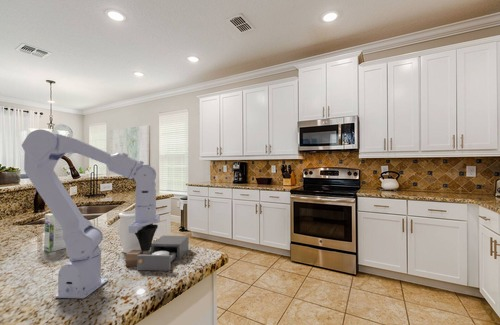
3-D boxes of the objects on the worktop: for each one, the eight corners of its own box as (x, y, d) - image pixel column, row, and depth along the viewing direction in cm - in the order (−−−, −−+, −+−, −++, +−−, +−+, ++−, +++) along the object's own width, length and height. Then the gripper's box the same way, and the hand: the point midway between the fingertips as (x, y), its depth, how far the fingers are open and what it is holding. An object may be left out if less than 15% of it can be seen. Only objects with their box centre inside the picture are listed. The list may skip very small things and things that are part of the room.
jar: (135, 255, 87) (135, 215, 88) (112, 253, 89) (112, 214, 90) (152, 246, 98) (153, 210, 98) (131, 244, 100) (131, 209, 100)
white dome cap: (163, 263, 76) (163, 257, 76) (147, 261, 77) (148, 256, 77) (171, 256, 82) (172, 251, 82) (157, 255, 83) (157, 250, 83)
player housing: (179, 259, 83) (179, 244, 83) (150, 259, 84) (150, 243, 84) (188, 249, 93) (188, 235, 93) (162, 249, 94) (162, 235, 94)
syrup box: (43, 250, 93) (43, 213, 93) (60, 245, 98) (61, 211, 99) (50, 252, 90) (50, 215, 91) (67, 247, 96) (68, 212, 96)
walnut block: (137, 266, 78) (137, 254, 78) (125, 265, 78) (125, 254, 78) (143, 261, 82) (143, 249, 82) (132, 261, 82) (132, 249, 82)
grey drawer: (168, 271, 74) (168, 256, 74) (136, 270, 74) (136, 256, 74) (180, 257, 85) (180, 245, 85) (152, 257, 85) (152, 244, 85)
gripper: (146, 209, 62) (146, 260, 62) (168, 201, 77) (168, 242, 77) (121, 209, 63) (121, 260, 63) (147, 201, 77) (147, 242, 77)
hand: (145, 250), depth 70 cm, fingers closed
